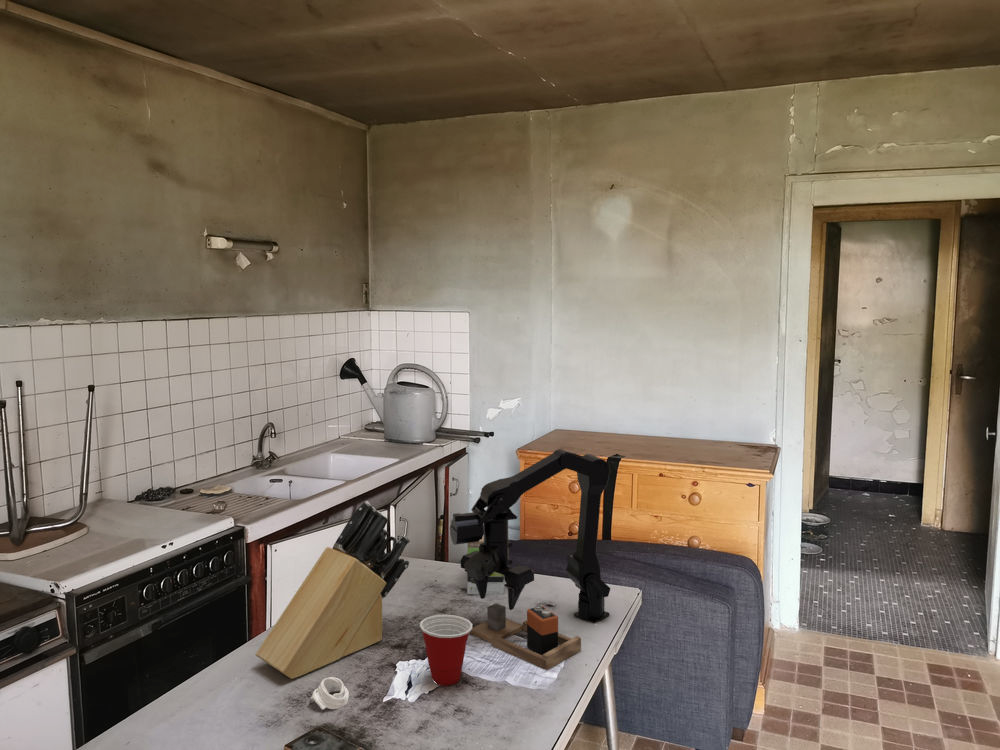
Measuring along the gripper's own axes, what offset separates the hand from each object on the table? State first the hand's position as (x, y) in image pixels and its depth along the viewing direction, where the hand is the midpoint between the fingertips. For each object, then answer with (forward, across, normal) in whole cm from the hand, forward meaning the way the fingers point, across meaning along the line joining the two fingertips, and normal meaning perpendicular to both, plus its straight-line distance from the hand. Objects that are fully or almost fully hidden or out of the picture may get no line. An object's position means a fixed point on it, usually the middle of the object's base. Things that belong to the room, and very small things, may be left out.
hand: (496, 603), depth 176 cm
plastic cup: (+7, +7, -22) cm, 24 cm away
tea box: (+7, -22, +19) cm, 30 cm away
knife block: (+7, -21, -29) cm, 37 cm away
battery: (+7, +14, 0) cm, 16 cm away
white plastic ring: (+7, -3, -43) cm, 44 cm away
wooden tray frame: (+7, +8, 0) cm, 10 cm away
